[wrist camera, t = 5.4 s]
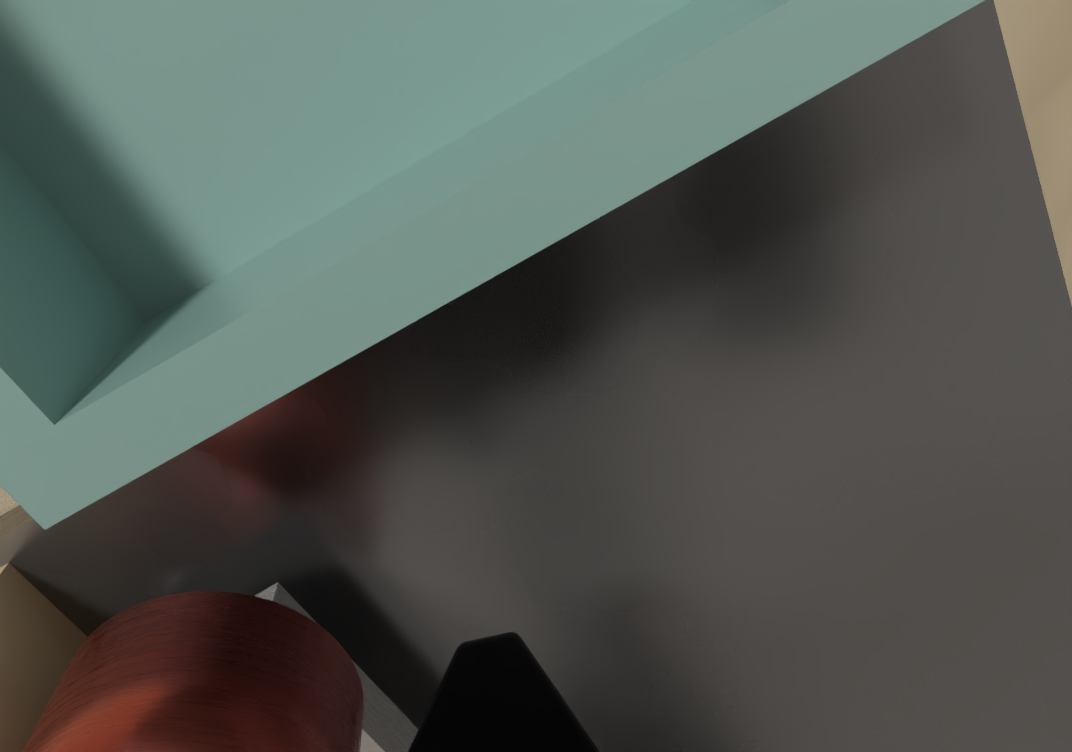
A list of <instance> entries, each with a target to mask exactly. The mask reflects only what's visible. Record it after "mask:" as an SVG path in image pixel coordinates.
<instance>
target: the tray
mask: <svg viewBox="0 0 1072 752" xmlns="http://www.w3.org/2000/svg"><path fill="white" fill-rule="evenodd" d="M983 1H985V0H0V486H1V487H2V488H3V489H4V490H5V491H6V492H7V493H8V494H9V495H10V496H11V497H12V498H13V499H14V500H15V501H16V502H17V503H18V504H19V505H20V506H21V507H22V508H23V509H24V510H25V511H26V512H27V513H28V514H29V515H30V516H31V517H32V518H33V519H34V520H35V521H36V522H37V523H38V524H39V525H40V526H41V527H43V528H44V529H45V530H46V529H47V528H49V527H51V526H53V525H55V524H56V523H58V522H60V521H62V520H63V519H65V518H67V517H69V516H71V515H72V514H74V513H76V512H78V511H79V510H81V509H83V508H85V507H87V506H88V505H90V504H92V503H94V502H95V501H97V500H99V499H101V498H102V497H104V496H106V495H108V494H110V493H111V492H113V491H115V490H117V489H118V488H120V487H122V486H124V485H126V484H127V483H129V482H131V481H133V480H134V479H136V478H138V477H140V476H142V475H143V474H145V473H147V472H149V471H150V470H152V469H154V468H156V467H158V466H159V465H161V464H163V463H165V462H166V461H168V460H170V459H172V458H173V457H175V456H177V455H179V454H181V453H182V452H184V451H186V450H188V449H189V448H191V447H193V446H195V445H197V444H198V443H200V442H202V441H204V440H205V439H207V438H209V437H211V436H213V435H214V434H216V433H218V432H220V431H221V430H223V429H225V428H227V427H229V426H230V425H232V424H234V423H236V422H237V421H239V420H241V419H243V418H244V417H246V416H248V415H250V414H252V413H253V412H255V411H257V410H259V409H260V408H262V407H264V406H266V405H268V404H269V403H271V402H273V401H275V400H276V399H278V398H280V397H282V396H284V395H285V394H287V393H289V392H291V391H292V390H294V389H296V388H298V387H300V386H301V385H303V384H305V383H307V382H308V381H310V380H312V379H314V378H315V377H317V376H319V375H321V374H323V373H324V372H326V371H328V370H330V369H331V368H333V367H335V366H337V365H339V364H340V363H342V362H344V361H346V360H347V359H349V358H351V357H353V356H355V355H356V354H358V353H360V352H362V351H363V350H365V349H367V348H369V347H371V346H372V345H374V344H376V343H378V342H379V341H381V340H383V339H385V338H386V337H388V336H390V335H392V334H394V333H395V332H397V331H399V330H401V329H402V328H404V327H406V326H408V325H410V324H411V323H413V322H415V321H417V320H418V319H420V318H422V317H424V316H426V315H427V314H429V313H431V312H433V311H434V310H436V309H438V308H440V307H442V306H443V305H445V304H447V303H449V302H450V301H452V300H454V299H456V298H457V297H459V296H461V295H463V294H465V293H466V292H468V291H470V290H472V289H473V288H475V287H477V286H479V285H481V284H482V283H484V282H486V281H488V280H489V279H491V278H493V277H495V276H497V275H498V274H500V273H502V272H504V271H505V270H507V269H509V268H511V267H512V266H514V265H516V264H518V263H520V262H521V261H523V260H525V259H527V258H528V257H530V256H532V255H534V254H536V253H537V252H539V251H541V250H543V249H544V248H546V247H548V246H550V245H552V244H553V243H555V242H557V241H559V240H560V239H562V238H564V237H566V236H568V235H569V234H571V233H573V232H575V231H576V230H578V229H580V228H582V227H583V226H585V225H587V224H589V223H591V222H592V221H594V220H596V219H598V218H599V217H601V216H603V215H605V214H607V213H608V212H610V211H612V210H614V209H615V208H617V207H619V206H621V205H623V204H624V203H626V202H628V201H630V200H631V199H633V198H635V197H637V196H639V195H640V194H642V193H644V192H646V191H647V190H649V189H651V188H653V187H654V186H656V185H658V184H660V183H662V182H663V181H665V180H667V179H669V178H670V177H672V176H674V175H676V174H678V173H679V172H681V171H683V170H685V169H686V168H688V167H690V166H692V165H694V164H695V163H697V162H699V161H701V160H702V159H704V158H706V157H708V156H710V155H711V154H713V153H715V152H717V151H718V150H720V149H722V148H724V147H725V146H727V145H729V144H731V143H733V142H734V141H736V140H738V139H740V138H741V137H743V136H745V135H747V134H749V133H750V132H752V131H754V130H756V129H757V128H759V127H761V126H763V125H765V124H766V123H768V122H770V121H772V120H773V119H775V118H777V117H779V116H781V115H782V114H784V113H786V112H788V111H789V110H791V109H793V108H795V107H796V106H798V105H800V104H802V103H804V102H805V101H807V100H809V99H811V98H812V97H814V96H816V95H818V94H820V93H821V92H823V91H825V90H827V89H828V88H830V87H832V86H834V85H836V84H837V83H839V82H841V81H843V80H844V79H846V78H848V77H850V76H852V75H853V74H855V73H857V72H859V71H860V70H862V69H864V68H866V67H867V66H869V65H871V64H873V63H875V62H876V61H878V60H880V59H882V58H883V57H885V56H887V55H889V54H891V53H892V52H894V51H896V50H898V49H899V48H901V47H903V46H905V45H907V44H908V43H910V42H912V41H914V40H915V39H917V38H919V37H921V36H923V35H924V34H926V33H928V32H930V31H931V30H933V29H935V28H937V27H938V26H940V25H942V24H944V23H946V22H947V21H949V20H951V19H953V18H954V17H956V16H958V15H960V14H962V13H963V12H965V11H967V10H969V9H970V8H972V7H974V6H976V5H978V4H979V3H981V2H983Z"/></svg>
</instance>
